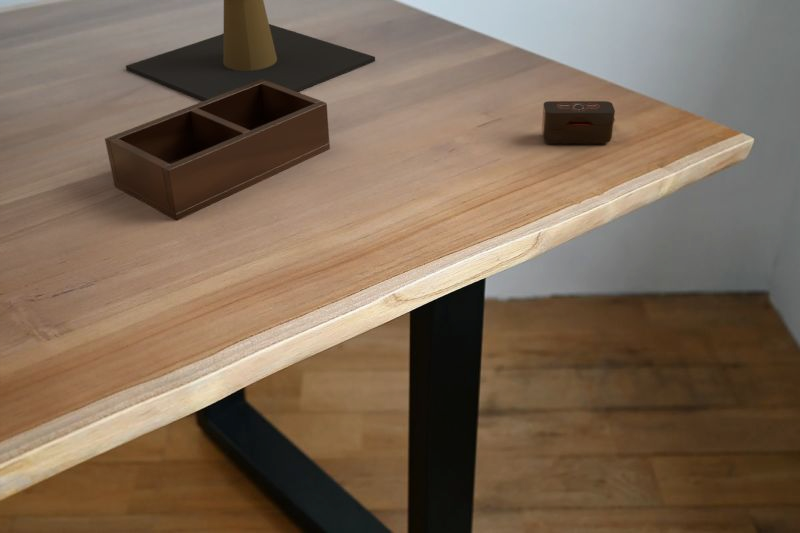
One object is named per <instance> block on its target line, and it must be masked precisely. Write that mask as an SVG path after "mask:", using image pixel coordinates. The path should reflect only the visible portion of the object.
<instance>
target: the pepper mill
mask: <svg viewBox="0 0 800 533" xmlns="http://www.w3.org/2000/svg"><path fill="white" fill-rule="evenodd" d="M269 24H270V23H269V18H268V14H267V10H266V7H265V2H264V0H223V34H224V57H223V63H224V65H225V66H226V67H227V68H229V69H233V70H239V71H252V70H260V69H263V68H267V67H269V66H272V65H273V64H274V63H276V61H277V57H276V52H275V48H274V44H273V40H272V35H271V31H270V27H269Z"/></svg>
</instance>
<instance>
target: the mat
mask: <svg viewBox="0 0 800 533" xmlns="http://www.w3.org/2000/svg"><path fill="white" fill-rule="evenodd" d="M269 27H270V31H271V35H272V40H273V44H274V48H275V52H276V57H277V61H276V63H274V64H273V65H272V66H269V67H267V68H263V69H260V70H252V71H239V70H233V69H229V68H227V67H226V66H225V65H224V63H223V57H224V33H221V34H218V35H214V36H213V37H210V38H209V37H208V38H205V39H202V40H200V41H198V42H194V43H190V44H188V45H186V46H181V47H178V48H175V49H174V50H170V51H166V52H164V53H160V54H158V55H154V56H151V57H148V58H145V59H142V60H139V61H136V62H132V63H130V64H126V65H125V69H126V71H129V72H131V73H134V74H136V75H138V76H141V77H143V78H145V79H147V80H151V81H153V82H156V83H158V84H160V85H163V86H165V87H168V88H170V89H172V90H174V91H178V92H180V93H182V94H184V95H187V96H190V97H192V98H195V99H197V100H199V101H201V102H203V101H205V100H208V99H211V98H213V97H216V96H219V95H221V94H224V93H227V92H229V91H232V90H234V89H237V88H240V87H242V86H245V85H248V84H250V83H253V82H256V81H258V80H261V79H262V80H265V81H268V82H271V83H274V84H277V85H279V86H282V87H285V88H287V89H290V90H293V91H296V92H298V93H300V92H301V91H303V90H306V89H309V88H311V87H313V86H317V85H319V84H321V83H324V82H326V81H329V80H331V79H333V78H337V77H339V76H341V75H343V74H346V73H348V72H351V71H353V70H355V69H358V68H361V67H363V66H366V65H368V64H370V63H373V62H376V56H374V55H371V54H367V53H365V52H362V51H357V50H355V49H351V48H348V47H345V46H342V45H339V44H335V43H332V42H329V41H325V40H322V39H319V38H316V37H313V36H309V35H306V34H303V33H300V32H296V31H293V30H290V29H287V28H284V27H281V26H277V25H273V24H271V23H269Z"/></svg>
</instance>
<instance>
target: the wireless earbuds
mask: <svg viewBox="0 0 800 533" xmlns="http://www.w3.org/2000/svg"><path fill="white" fill-rule="evenodd" d="M615 113H616V110H615V107H614V105H613V103H612V102H611V101H607V100H582V101H581V100H570V101H569V100H559V101H558V100H557V101H556V100H555V101H554V100H552V101H551V100H549V101H548V100H547V101H545V102H543V106H542V119H541V120H542V121H541V134H542V139H543V141H544V142H545V143H546V144H608V143H610V142H611V140H612V138H613V131H614V130H613V129H614V123H615V120H616V119H615V115H616V114H615Z"/></svg>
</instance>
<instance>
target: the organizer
mask: <svg viewBox="0 0 800 533" xmlns="http://www.w3.org/2000/svg"><path fill="white" fill-rule="evenodd" d="M328 116H329V115H328V103H327V102H325V101H322V100H320V99H318V98H315V97H312V96H309V95H306V94H304V93H301V92H296V91H293V90H290V89H287V88H285V87H282V86H279V85H277V84H274V83H271V82H268V81H265V80H262V79H261V80H258V81H256V82H253V83H250V84H248V85H245V86H242V87H240V88H237V89H234V90H232V91H229V92H227V93H224V94H221V95H219V96H216V97H213V98H211V99H208V100H205V101H201V102H198V103H195V104H192V105H190V106H187V107H184V108H182V109H179V110H176V111H174V112H171V113H169V114H166V115H163V116H160V117H158V118H155V119H153V120H150V121H148V122H145V123H142V124H139V125H137V126H134V127H132V128H129V129H127V130H124V131H122V132H121V131H120V132H119V133H116V134H113V135H111V136H108V137H106V138H104V144H105V146H106V151H107V156H108V160H109V166H110V170H111V175H112V179H113V185H114V187H115V188H117V189H119V190H121V191H123V192H124V193H126V194H127V195H130V196H132V197H133V198H136V199H137V200H139V201H141V202H142V203H145V204H146V205H148V206H150V207H152V208H154V209H156V211H157V210H158V211H160V213H163V214H164V215H167V216H169V217H170V218H172V219H174V220H176V221H178V220H181V219H183V218H186V217H187V216H189V215H191V214H193V213H195V212H198V211H200V210H202V209H205V208H206V207H209V206H211V205H213V204H215V203H217V202H220V201H221V200H223V199H226V198H227V197H230V196H232V195H234V194H236V193H238V192H240V191H242V190H245V189H247V188H249V187H251V186H254V185H255V184H257V183H260V182H262V181H264V180H266V179H268V178H271V177H273V176H274V175H276V174H278V173H281V172H283V171H285V170H287V169H290V168H292V167H294V166H296V165H298V164H300V163H303V162H304V161H307V160H309V159H311V158H313V157H314V156H317V155H320V154H321V153H324V152H325V151H328V150H330V149H331V143H330V130H329V117H328Z"/></svg>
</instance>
